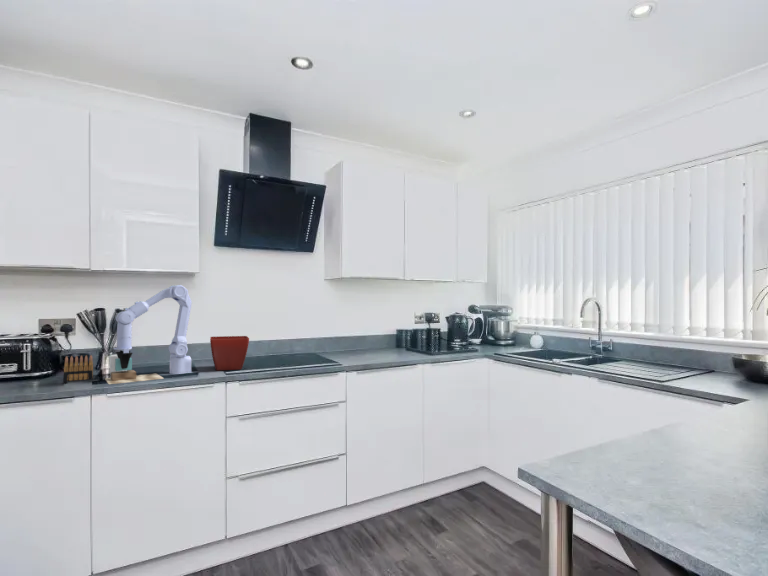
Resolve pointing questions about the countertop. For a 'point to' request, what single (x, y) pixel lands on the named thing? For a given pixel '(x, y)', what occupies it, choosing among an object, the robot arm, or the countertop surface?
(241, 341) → the plant pot
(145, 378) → the birch board
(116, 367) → the teal brick
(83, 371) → the ammunition clip
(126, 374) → the walnut base block
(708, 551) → the countertop surface
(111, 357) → the white cup
